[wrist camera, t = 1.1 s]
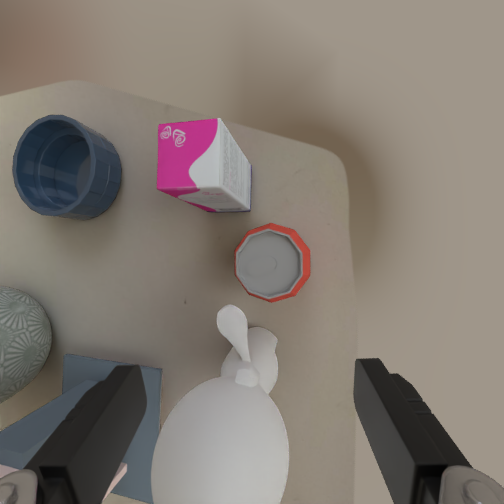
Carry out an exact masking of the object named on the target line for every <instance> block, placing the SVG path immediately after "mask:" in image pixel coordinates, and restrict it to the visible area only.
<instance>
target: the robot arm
mask: <svg viewBox="0 0 504 504" xmlns="http://www.w3.org/2000/svg"><path fill="white" fill-rule="evenodd" d="M354 403H355V407H356V411H357V414H358V416H359V419H360V421H361V424H362V426H363V428H364V431H365V433H366V436H367V438H368V441H369V443H370V446H371V448H372V451H373V453H374V456H375V458H376V460H377V463H378V465H379V468H380V470H381V473H382V475H383V478H384V480H385V483H386V485H387V487H388V490H389V492H390V495H391V497H392V500H393V502H394V504H504V488H503V487H502V486H501V485H500V484H499V483H497V482H496V481H495V480H493V479H492V478H490V477H489V476H487V475H486V474H484V473H482V472H480V471H478V470H476V469H473V467H472V466H471V465H470V464H469V462H468V461H467V459H466V458H465V457H464V455H463V454H462V453H461V451H460V450H459V449H458V447H457V446H456V444H455V443H454V442H453V440H452V439H451V438H450V436H449V435H448V433H447V432H446V431H445V429H444V428H443V427H442V425H441V424H440V422H439V421H438V420H437V418H436V417H435V416H434V414H432V413H431V410H430V409H429V407H428V406H427V405H426V403H425V402H423V401H422V398H421V396H420V395H419V394H418V392H417V391H416V389H415V388H414V387H413V386H412V384H410V383H409V382H407V380H405V379H404V378H403V377H401V376H400V375H399V374H389V372H388V370H387V369H386V368H385V366H384V364H383V363H382V361H381V360H380V359H379V358H372V359H371V358H369V359H356V361H355V374H354ZM146 408H147V395H146V390H145V385H144V381H143V376H142V371H141V368H140V366H139V365H117V366H116V367H115V368H114V369H113V370H112V371H111V373H110V374H109V375H108V376H107V378H106V379H105V380H104V381H99V382H98V383H97V384H95V385H94V386H93V387H92V388H90V389H89V390H88V391H86V392H85V394H84V395H83V396H82V397H81V398H80V400H79V401H78V402H77V403H76V405H75V407H74V408H72V409H71V411H70V412H69V413H68V414H67V416H66V418H65V420H63V421H62V422H61V423H60V424H59V425H58V427H57V428H56V429H55V430H54V432H53V433H52V434H51V435H50V436H49V438H48V439H47V440H46V441H45V443H44V444H43V445H42V446H41V447H40V449H39V450H38V451H37V452H36V454H35V455H34V456H33V457H32V458H31V460H30V461H29V462H28V463H27V465H26V466H25V467H24V468H23V469H22V470H18V471H15V472H12V473H9V474H7V475H5V476H3V477H2V478H0V504H101V503H102V501H103V499H104V497H105V495H106V493H107V491H108V489H109V487H110V485H111V482H112V480H113V478H114V476H115V474H116V472H117V470H118V468H119V466H120V464H121V462H122V460H123V458H124V456H125V454H126V452H127V450H128V448H129V446H130V444H131V442H132V440H133V438H134V436H135V434H136V432H137V430H138V427H139V425H140V423H141V421H142V419H143V417H144V415H145V412H146Z"/></svg>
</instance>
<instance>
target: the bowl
mask: <svg viewBox="0 0 504 504" xmlns="http://www.w3.org/2000/svg"><path fill="white" fill-rule="evenodd" d="M12 171H13V178H14V183H15V187H16V189H17V191H18V193H19V195H20V197H21V199H22V200H23V201H24V203H25V204H26V205H27V206H28V207H29V208H30V209H31V210H33V211H35V212H37V213H39V214H41V215H46V216H54V217H62V218H69V219H78V220H87V219H90V218H94V217H97V216H98V215H100V214H101V213H103V212H104V211H105V210H107V209H108V207H109V206H110V205H111V203H112V202H113V201H114V199H115V197H116V195H117V192H118V189H119V187H120V181H121V165H120V160H119V156H118V154H117V152H116V150H115V148H114V146H113V144H112V143H111V142H109V141H108V140H107V139H106V138H105V137H104V136H103V135H101V134H99V133H98V132H96V131H94V130H92V129H91V128H89V127H87V126H85V125H83V124H82V123H80V122H78V121H76V120H74V119H72V118H69V117H67V116H64V115H48V116H46V117H43V118H40V119H38V120H36V121H35V122H34V123H33V124H32V125H30V126H29V127H28V128H27V129H26V130H25V132H24V133H23V135H22V136H21V138H20V139H19V141H18V143H17V147H16V150H15V153H14V156H13V167H12Z"/></svg>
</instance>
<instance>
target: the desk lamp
mask: <svg viewBox="0 0 504 504" xmlns="http://www.w3.org/2000/svg"><path fill="white" fill-rule="evenodd" d="M117 365H134V364H128V363H122V362H116V361H109V360H103V359H97V358H91V357H84V356H78V355H72V354H65V355H64V360H63V388H62V395H61V396H59V397H57V398H56V399H54V400H52V401H51V402H49V403H47V404H46V405H44V406H42V407H41V408H39V409H37V410H36V411H34V412H32V413H31V414H29V415H27V416H26V417H24V418H22V419H21V420H19V421H17V422H16V423H14V424H12V425H11V426H9V427H7V428H5V429H4V430H2V431H0V478H2V477H3V476H5V475H7V474H9V473H12V472H15V471H18V470H22V469H23V468H24V467H25V466H26V465H27V463H28V462H29V461H30V460H31V458H32V457H33V456H34V455H35V454H36V452H37V451H38V450H39V449H40V447H41V446H42V445H43V444H44V443H45V441H46V440H47V439H48V438H49V436H50V435H51V434H52V433H53V432H54V430H55V429H56V428H57V427H58V425H59V424H60V423H61V422H62V421H63V420H65V418H66V416H67V414H68V413H69V412H70V411H71V409H72V408H74V407H75V405H76V403H77V402H78V401H79V400H80V398H81V397H82V396H83V395H84V394H85V392H86V391H88V390H89V389H90V388H92V387H93V386H94V385H95V384H97V383H98V382H99V381H104V380H105V379H106V378H107V376H108V375H109V374H110V373H111V371H112V370H113V369H114V368H115V367H116V366H117ZM139 366H140V365H139ZM140 368H141V371H142V376H143V381H144V385H145V390H146V395H147V408H146V412H145V415H144V417H143V419H142V421H141V423H140V425H139V427H138V430H137V432H136V434H135V436H134V438H133V440H132V442H131V444H130V446H129V448H128V450H127V452H126V454H125V456H124V458H123V460H122V462H121V464H120V466H119V468H118V470H117V472H116V474H115V476H114V478H113V480H112V482H111V485H110V487H109V489H108V491H107V493H106V495H105V497H104V499H105V498H106V497H107V496H108V494H109V493H114V494H118V495H121V496H125V497H128V498H132V499H135V500H139V501H143V502H146V503H150V504H154V502H153V497H152V490H151V468H152V459H153V454H154V449H155V445H156V442H157V439H158V436H159V434H160V414H161V391H162V369H159V368H153V367H147V366H140ZM104 499H103V501H104ZM103 501H102V502H103Z"/></svg>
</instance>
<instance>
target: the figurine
mask: <svg viewBox="0 0 504 504" xmlns="http://www.w3.org/2000/svg"><path fill="white" fill-rule="evenodd" d="M217 326H218V329H219V331H220V332H221V334H222V335H223V336H224V337H226V338H227V339H228V340H229V342H230V343H231V344H232V345H233V347H232V349H231V350H230V352H229V353H228V355H227V356H226V358H225V360H224V362H223V364H222V367H221V372H220V377H217V378H213V379H210V380H207V381H205V382H203V383H201V384H199V385H197V386H196V387H194V388H193V389H192V390H190V391H189V392H188V393H187V394H186V395H184V396H183V397H182V398H181V400H180V401H179V402H178V403H177V404H176V405H175V407H174V408H173V409H172V411H171V412H170V414H169V415H168V417H167V419H166V421H165V422H164V424H163V427H162V429H161V431H160V434H159V436H158V439H157V442H156V445H155V449H154V454H153V459H152V468H151V490H152V497H153V502H154V504H280V502H281V499H282V496H283V493H284V490H285V486H286V481H287V476H288V469H289V445H288V437H287V432H286V428H285V424H284V422H283V419H282V416H281V414H280V412H279V410H278V408H277V406H276V405H275V403H274V401H273V400H272V399H271V397H270V396H269V395H268V394H269V393H270V391H271V390H272V389H273V387H274V385H275V383H276V381H277V377H278V362H277V357H276V354H275V348H276V344H277V341H278V340H277V338H276V337H275V335H274V334H273V333H272V332H270V331H269V330H267V329H265V328H262V327H252V328H249V329H248V325H247V319H246V317H245V314H244V313H243V312H242V311H241V309H239V308H237V307H235V306H234V305H230V304H228V305H226V306H224V307H222V308H221V310H220V311H219V312H218V315H217Z"/></svg>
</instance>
